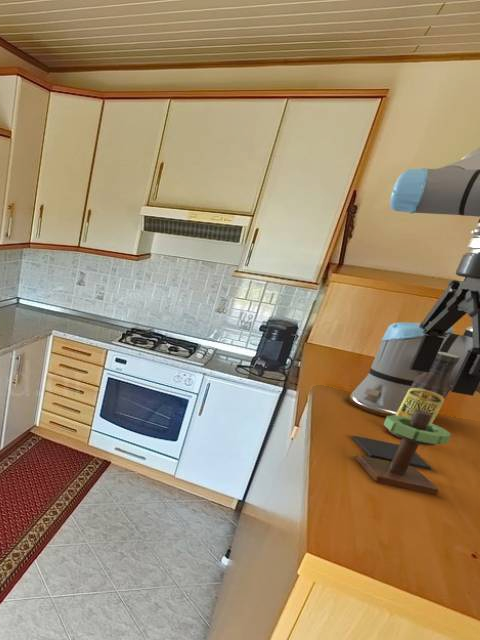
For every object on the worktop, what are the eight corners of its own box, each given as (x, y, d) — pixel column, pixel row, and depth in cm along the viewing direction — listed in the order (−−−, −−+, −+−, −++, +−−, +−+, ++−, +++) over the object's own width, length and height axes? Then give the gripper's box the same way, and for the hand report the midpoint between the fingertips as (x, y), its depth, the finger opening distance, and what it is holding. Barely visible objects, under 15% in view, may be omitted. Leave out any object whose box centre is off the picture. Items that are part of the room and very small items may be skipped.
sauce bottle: (384, 434, 110) (422, 350, 103) (390, 428, 114) (426, 347, 107) (422, 446, 106) (463, 359, 99) (426, 440, 110) (467, 356, 103)
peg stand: (356, 460, 95) (382, 399, 91) (411, 472, 93) (441, 409, 88) (375, 481, 87) (405, 416, 83) (436, 495, 85) (470, 428, 80)
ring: (377, 419, 92) (380, 411, 91) (430, 429, 90) (434, 421, 89) (397, 436, 84) (400, 428, 84) (456, 448, 82) (460, 440, 82)
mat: (352, 437, 107) (352, 435, 106) (406, 448, 104) (407, 446, 103) (370, 456, 98) (371, 454, 97) (430, 469, 95) (431, 467, 95)
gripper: (428, 248, 88) (381, 359, 96) (521, 255, 66) (452, 399, 73) (478, 253, 86) (427, 366, 94) (593, 262, 64) (514, 410, 71)
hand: (438, 381), depth 84 cm, fingers open, 13 cm apart
